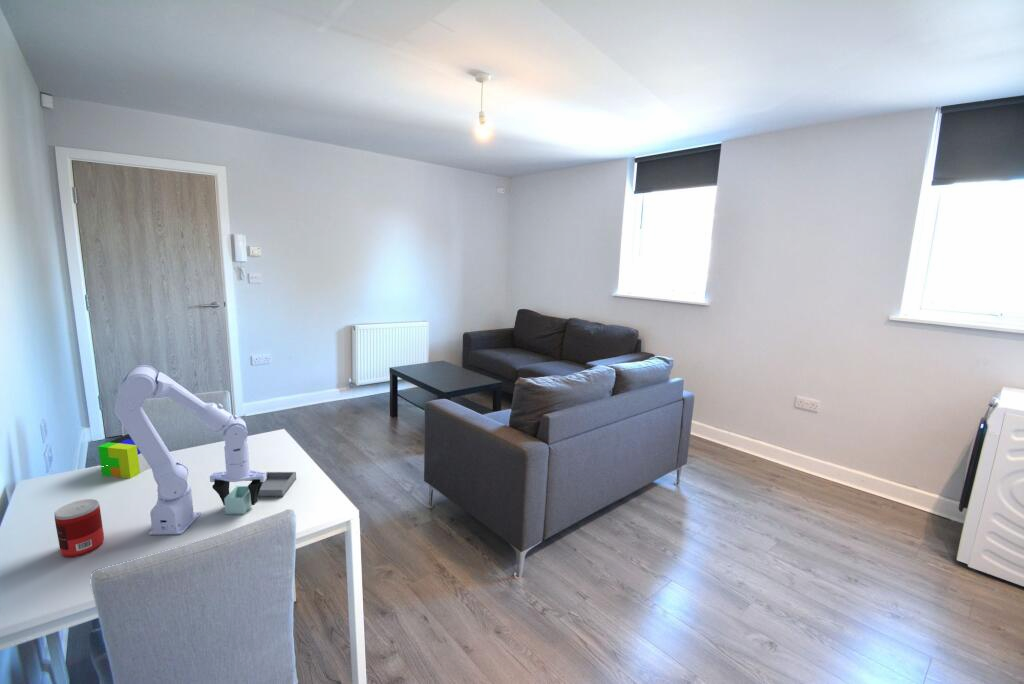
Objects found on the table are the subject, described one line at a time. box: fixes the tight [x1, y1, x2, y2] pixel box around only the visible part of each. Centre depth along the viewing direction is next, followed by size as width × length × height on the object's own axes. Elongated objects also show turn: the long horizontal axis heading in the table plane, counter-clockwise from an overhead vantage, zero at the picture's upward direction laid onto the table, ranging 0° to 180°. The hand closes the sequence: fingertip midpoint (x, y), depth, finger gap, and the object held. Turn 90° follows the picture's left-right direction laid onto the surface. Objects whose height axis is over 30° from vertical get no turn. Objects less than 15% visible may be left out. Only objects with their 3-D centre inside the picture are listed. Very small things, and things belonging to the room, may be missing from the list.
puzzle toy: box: [97, 433, 151, 479], centre depth 147 cm, size 10×10×10 cm
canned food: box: [54, 498, 105, 558], centre depth 110 cm, size 8×8×11 cm
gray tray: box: [258, 471, 297, 498], centre depth 141 cm, size 9×11×2 cm
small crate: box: [224, 485, 253, 516], centre depth 130 cm, size 5×7×5 cm
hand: (240, 503), depth 130 cm, fingers open, 7 cm apart
